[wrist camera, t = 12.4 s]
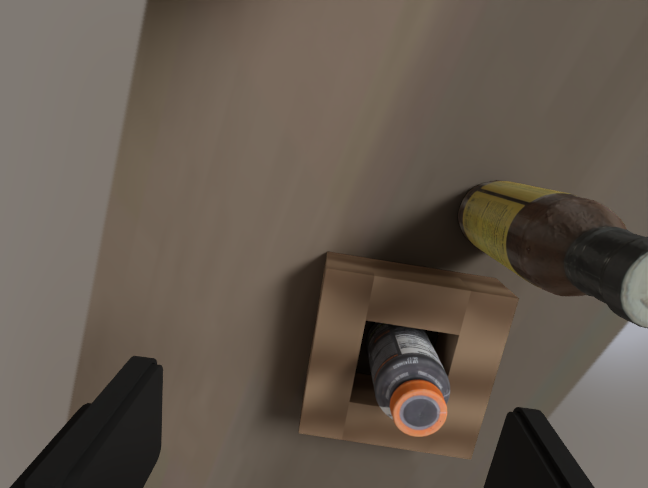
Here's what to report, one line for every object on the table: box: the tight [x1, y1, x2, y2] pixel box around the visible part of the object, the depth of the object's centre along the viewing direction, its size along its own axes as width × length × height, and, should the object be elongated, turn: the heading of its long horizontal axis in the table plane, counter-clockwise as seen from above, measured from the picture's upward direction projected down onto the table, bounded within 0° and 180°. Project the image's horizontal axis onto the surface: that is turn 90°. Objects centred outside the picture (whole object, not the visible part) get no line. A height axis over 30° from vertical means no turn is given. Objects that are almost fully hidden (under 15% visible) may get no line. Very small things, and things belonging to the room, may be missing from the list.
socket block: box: [299, 252, 519, 459], centre depth 38 cm, size 16×16×5 cm
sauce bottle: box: [458, 180, 648, 328], centre depth 28 cm, size 6×6×20 cm
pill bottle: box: [366, 322, 450, 437], centre depth 35 cm, size 6×6×11 cm
